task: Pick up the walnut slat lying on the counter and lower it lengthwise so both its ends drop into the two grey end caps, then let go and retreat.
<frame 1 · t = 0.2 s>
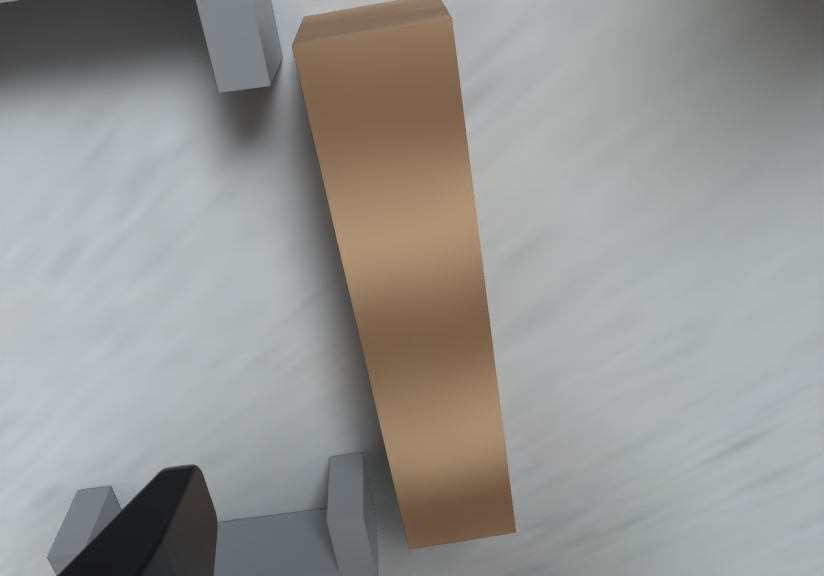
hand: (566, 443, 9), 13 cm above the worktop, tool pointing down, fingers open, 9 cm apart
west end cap: (239, 529, 28), on the worktop
slat: (416, 267, 23), on the worktop
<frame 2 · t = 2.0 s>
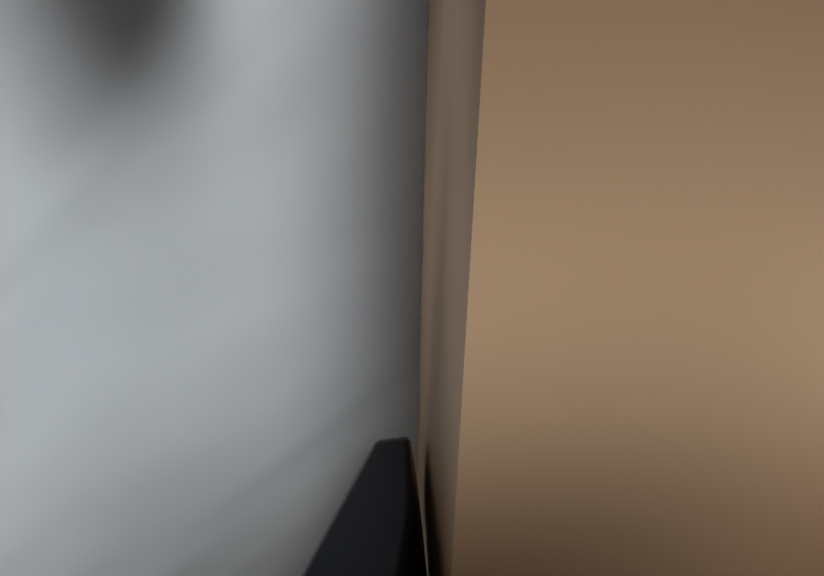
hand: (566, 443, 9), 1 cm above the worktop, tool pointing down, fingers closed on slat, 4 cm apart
slat: (544, 380, 10), on the worktop, touching gripper
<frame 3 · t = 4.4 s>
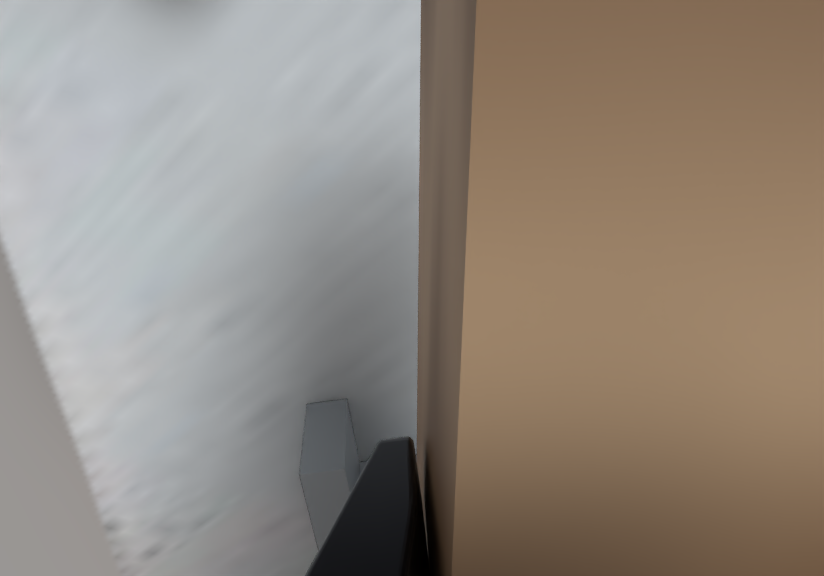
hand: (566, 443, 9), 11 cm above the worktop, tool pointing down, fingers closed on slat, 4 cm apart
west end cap: (487, 457, 23), on the worktop
slat: (545, 381, 10), point 10 cm above the worktop, touching gripper
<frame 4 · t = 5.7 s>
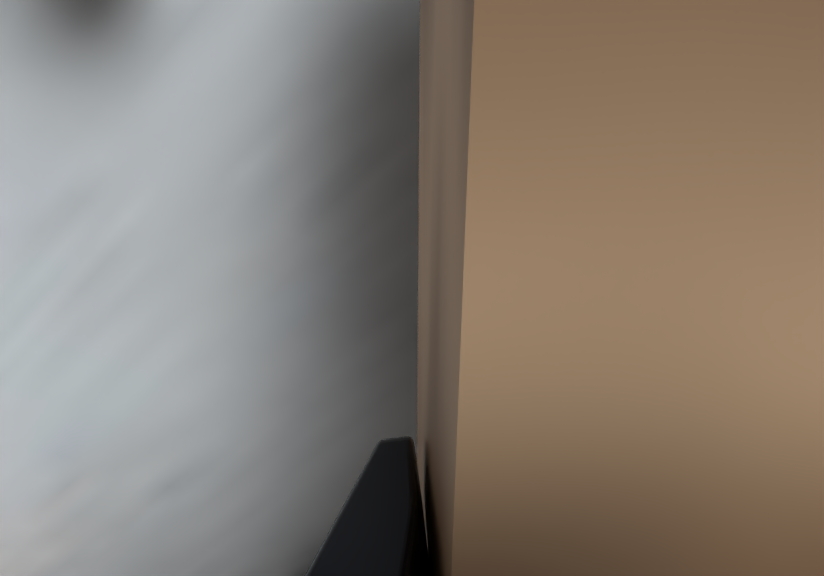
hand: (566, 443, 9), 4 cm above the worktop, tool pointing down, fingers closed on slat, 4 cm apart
slat: (545, 380, 10), point 3 cm above the worktop, touching gripper
when the fingers open (2 cm above the worktop, at t = 6.5 s): slat drops 2 cm, on the worktop.
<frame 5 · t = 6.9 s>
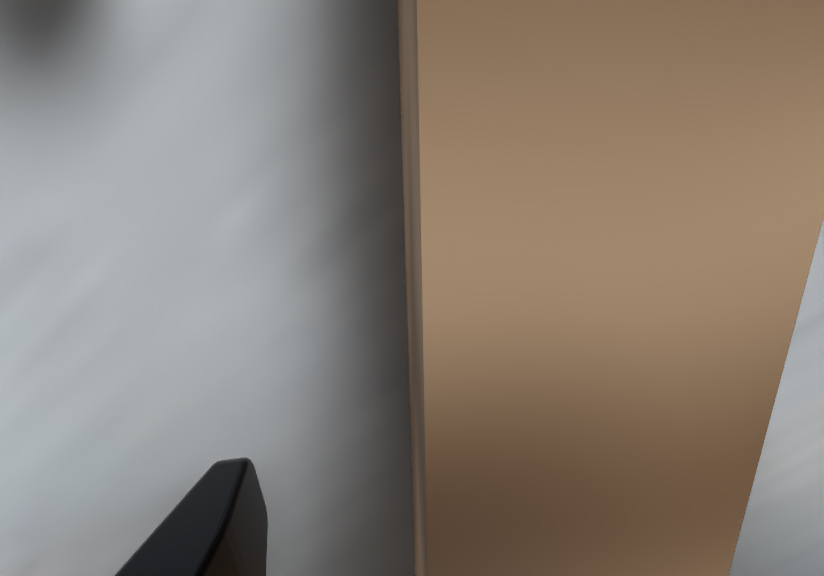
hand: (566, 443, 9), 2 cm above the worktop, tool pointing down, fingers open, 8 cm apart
slat: (518, 321, 11), on the worktop
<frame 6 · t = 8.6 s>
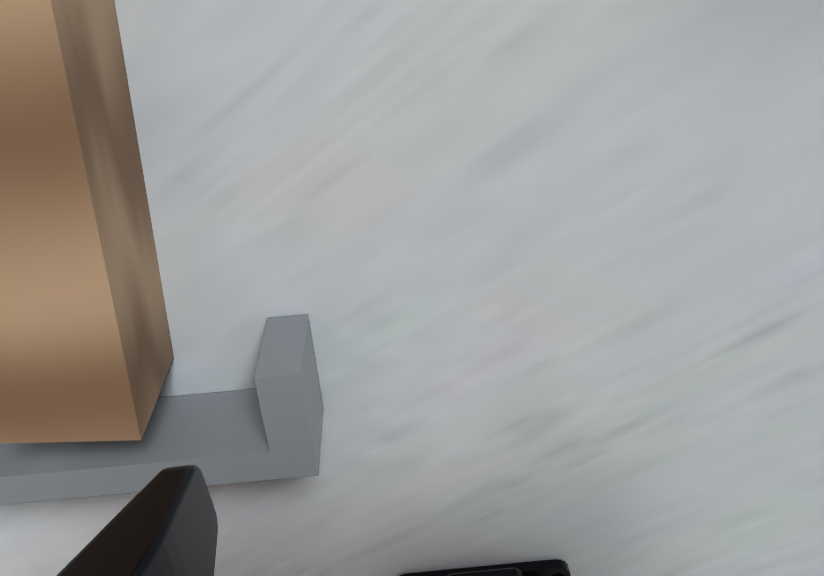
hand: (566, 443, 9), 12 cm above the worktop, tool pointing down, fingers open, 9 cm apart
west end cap: (155, 411, 23), on the worktop
slat: (60, 87, 18), on the worktop
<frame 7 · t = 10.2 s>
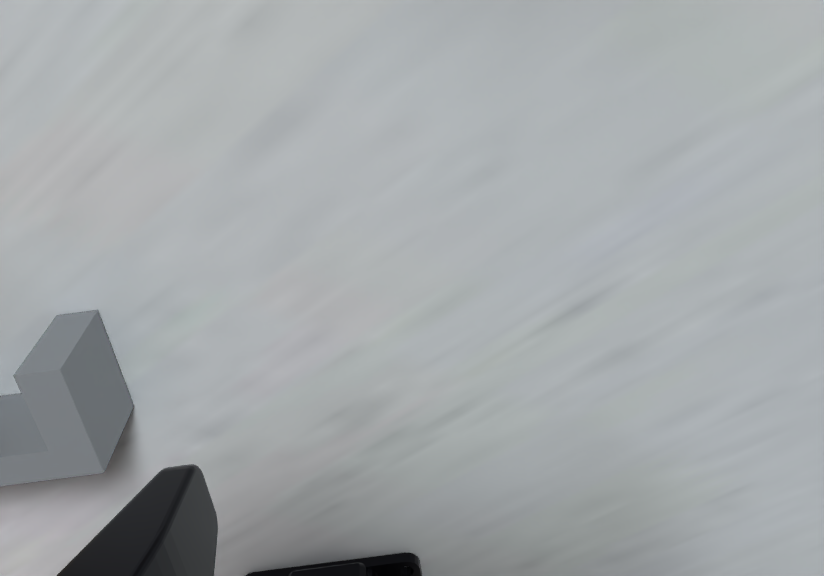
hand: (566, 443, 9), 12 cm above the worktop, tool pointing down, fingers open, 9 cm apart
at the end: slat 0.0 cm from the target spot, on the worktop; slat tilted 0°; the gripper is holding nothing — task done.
